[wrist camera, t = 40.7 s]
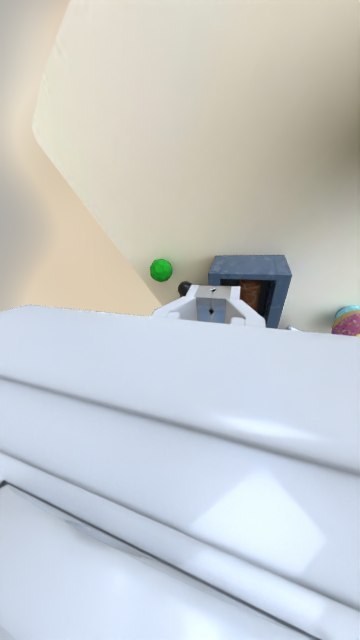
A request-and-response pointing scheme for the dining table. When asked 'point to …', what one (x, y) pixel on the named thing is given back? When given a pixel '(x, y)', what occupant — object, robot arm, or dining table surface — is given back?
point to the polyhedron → (160, 270)
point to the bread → (250, 292)
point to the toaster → (256, 268)
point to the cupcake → (347, 322)
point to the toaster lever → (184, 288)
